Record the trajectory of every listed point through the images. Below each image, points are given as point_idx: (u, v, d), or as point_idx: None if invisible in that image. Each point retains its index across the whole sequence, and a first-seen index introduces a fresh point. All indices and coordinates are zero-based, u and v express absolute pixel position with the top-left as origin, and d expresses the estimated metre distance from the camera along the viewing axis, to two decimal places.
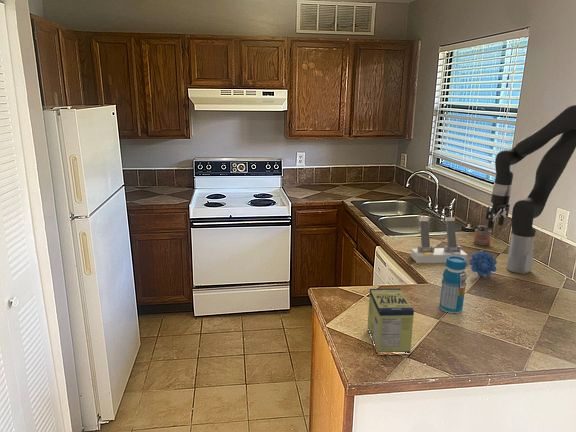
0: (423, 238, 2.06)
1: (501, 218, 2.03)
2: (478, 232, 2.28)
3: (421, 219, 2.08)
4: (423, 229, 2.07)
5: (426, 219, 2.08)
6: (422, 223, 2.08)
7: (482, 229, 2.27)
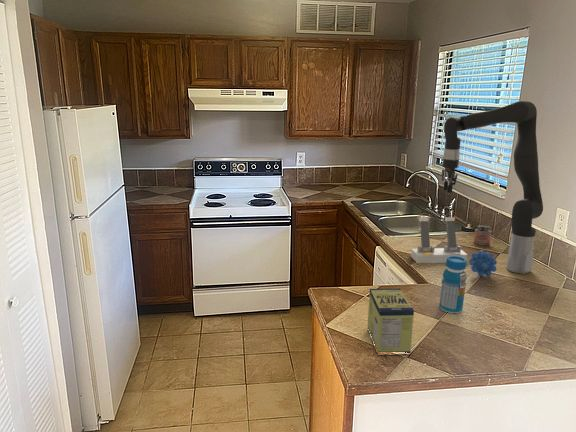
0: (423, 238, 2.06)
1: None
2: (478, 232, 2.28)
3: (421, 219, 2.08)
4: (423, 229, 2.07)
5: (426, 219, 2.08)
6: (422, 223, 2.08)
7: (482, 229, 2.27)
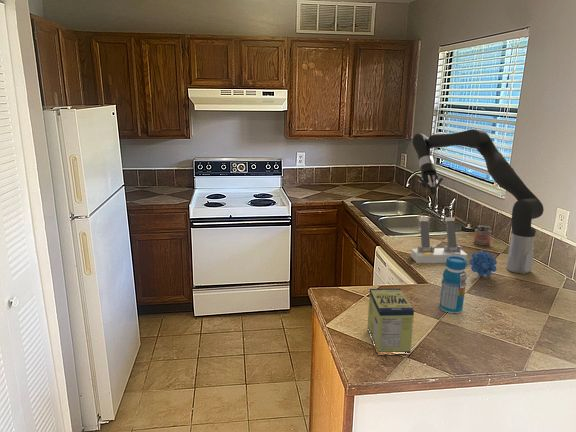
0: (423, 238, 2.06)
1: None
2: (478, 232, 2.28)
3: (421, 219, 2.08)
4: (423, 229, 2.07)
5: (426, 219, 2.08)
6: (422, 223, 2.08)
7: (482, 229, 2.27)
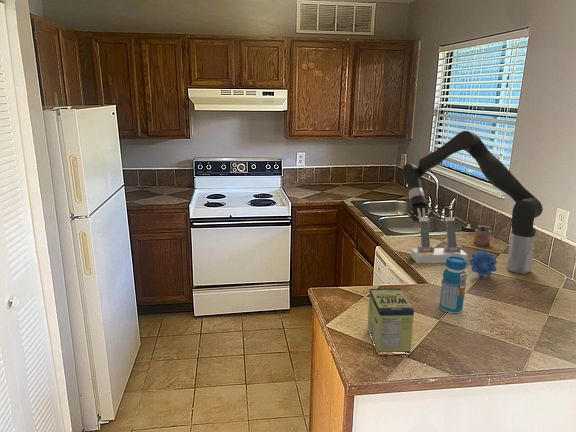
0: (423, 238, 2.06)
1: None
2: (478, 232, 2.28)
3: (421, 219, 2.08)
4: (423, 229, 2.07)
5: (426, 219, 2.08)
6: (422, 223, 2.08)
7: (482, 229, 2.27)
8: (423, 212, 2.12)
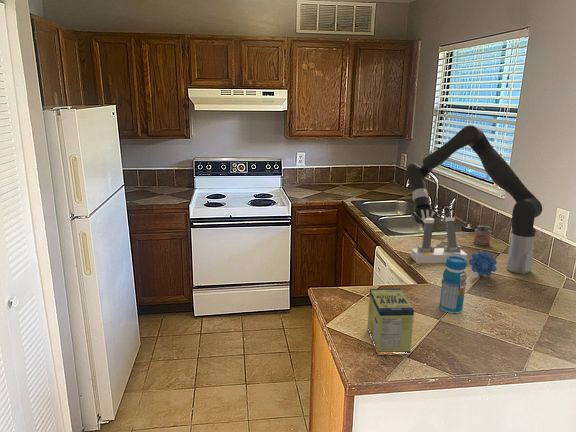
0: (425, 239, 2.04)
1: None
2: (478, 232, 2.28)
3: (426, 221, 2.01)
4: (426, 231, 2.03)
5: (431, 221, 2.01)
6: (426, 225, 2.02)
7: (482, 229, 2.27)
8: (427, 214, 2.07)
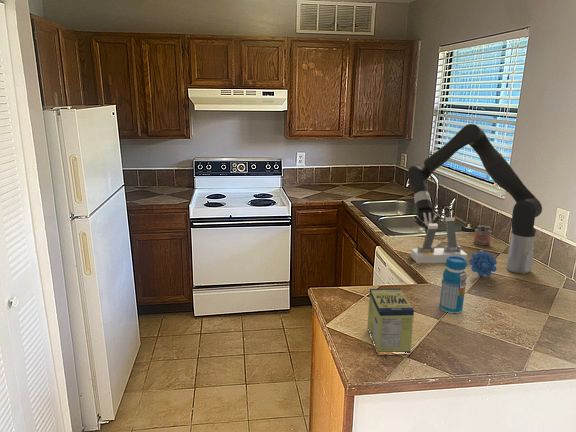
0: (426, 242, 2.02)
1: None
2: (478, 232, 2.28)
3: (430, 227, 1.97)
4: (429, 235, 2.00)
5: (435, 227, 1.97)
6: (430, 230, 1.98)
7: (482, 229, 2.27)
8: (429, 217, 2.04)
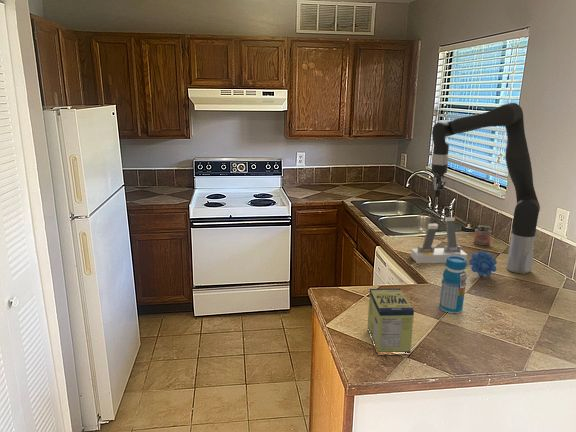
0: (426, 242, 2.02)
1: None
2: (478, 232, 2.28)
3: (430, 227, 1.97)
4: (429, 235, 2.00)
5: (435, 227, 1.97)
6: (430, 230, 1.98)
7: (482, 229, 2.27)
8: (435, 181, 2.15)
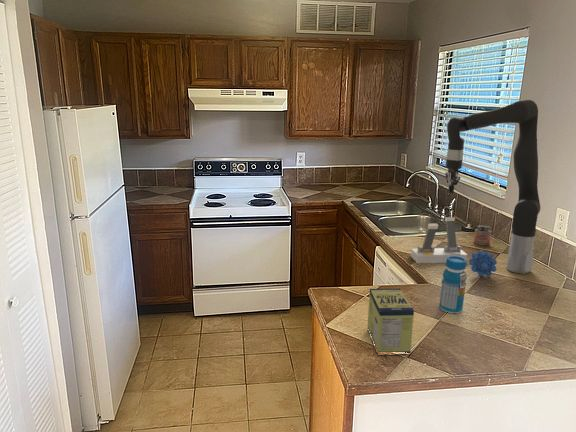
0: (426, 242, 2.02)
1: None
2: (478, 232, 2.28)
3: (430, 227, 1.97)
4: (429, 235, 2.00)
5: (435, 227, 1.97)
6: (430, 230, 1.98)
7: (482, 229, 2.27)
8: (450, 176, 2.14)
